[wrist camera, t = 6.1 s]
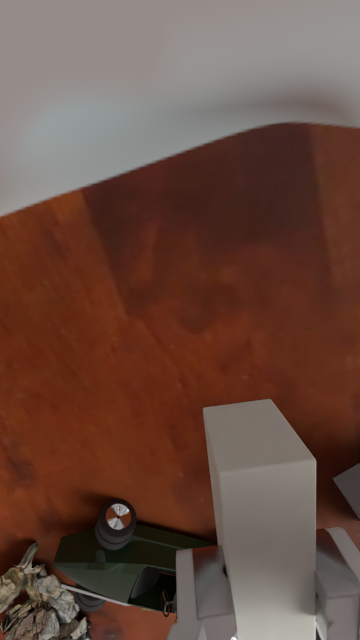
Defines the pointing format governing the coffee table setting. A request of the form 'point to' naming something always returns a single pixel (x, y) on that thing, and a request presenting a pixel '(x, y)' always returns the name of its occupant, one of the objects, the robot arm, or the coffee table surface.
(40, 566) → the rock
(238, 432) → the knife
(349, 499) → the perfume bottle
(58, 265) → the coffee table surface
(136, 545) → the toy car
